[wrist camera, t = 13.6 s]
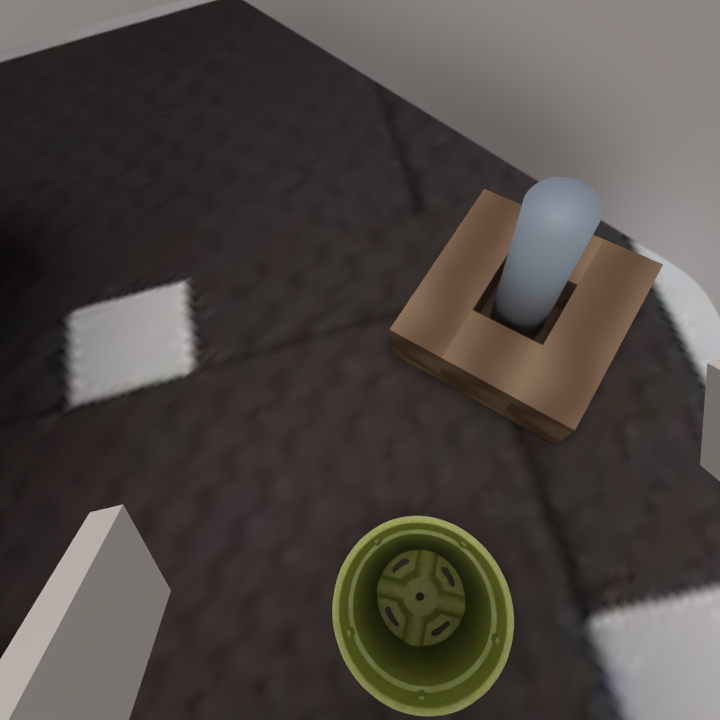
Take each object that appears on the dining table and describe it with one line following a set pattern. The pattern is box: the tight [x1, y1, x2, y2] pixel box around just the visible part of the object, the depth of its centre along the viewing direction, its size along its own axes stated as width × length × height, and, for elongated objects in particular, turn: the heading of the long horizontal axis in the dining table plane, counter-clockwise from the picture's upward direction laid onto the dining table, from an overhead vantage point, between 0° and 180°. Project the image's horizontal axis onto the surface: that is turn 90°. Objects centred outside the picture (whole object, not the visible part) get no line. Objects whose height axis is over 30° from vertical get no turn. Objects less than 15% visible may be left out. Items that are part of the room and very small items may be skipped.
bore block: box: [390, 189, 663, 445], centre depth 38 cm, size 14×14×5 cm
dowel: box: [490, 177, 602, 340], centre depth 32 cm, size 4×4×14 cm
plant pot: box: [332, 516, 514, 716], centre depth 30 cm, size 9×9×9 cm
